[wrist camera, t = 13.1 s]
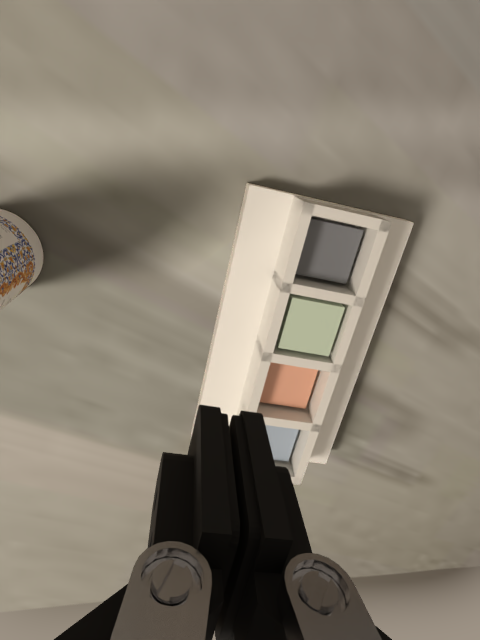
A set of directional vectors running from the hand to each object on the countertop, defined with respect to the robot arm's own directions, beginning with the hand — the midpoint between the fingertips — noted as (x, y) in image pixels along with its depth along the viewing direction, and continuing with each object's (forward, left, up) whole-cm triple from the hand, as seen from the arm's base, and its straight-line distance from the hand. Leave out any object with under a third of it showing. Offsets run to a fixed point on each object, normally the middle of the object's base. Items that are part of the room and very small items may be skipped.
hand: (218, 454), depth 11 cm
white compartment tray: (+7, +10, -27) cm, 30 cm away
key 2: (+4, +9, -24) cm, 26 cm away
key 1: (-2, +9, -25) cm, 27 cm away
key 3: (+10, +9, -25) cm, 28 cm away
